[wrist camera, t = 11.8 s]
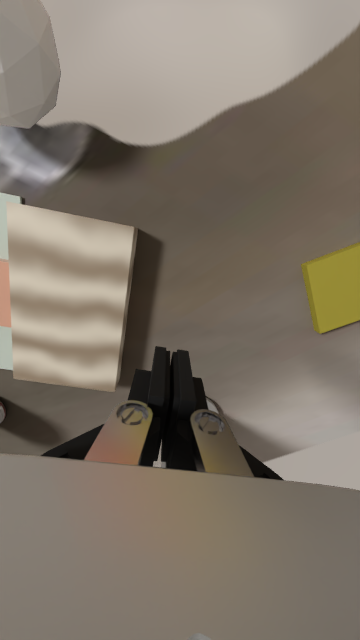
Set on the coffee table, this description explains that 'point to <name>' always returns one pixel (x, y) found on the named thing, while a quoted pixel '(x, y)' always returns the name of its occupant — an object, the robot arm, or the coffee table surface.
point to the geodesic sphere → (26, 63)
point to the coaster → (5, 294)
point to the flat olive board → (334, 288)
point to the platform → (68, 296)
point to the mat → (3, 355)
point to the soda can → (2, 412)
